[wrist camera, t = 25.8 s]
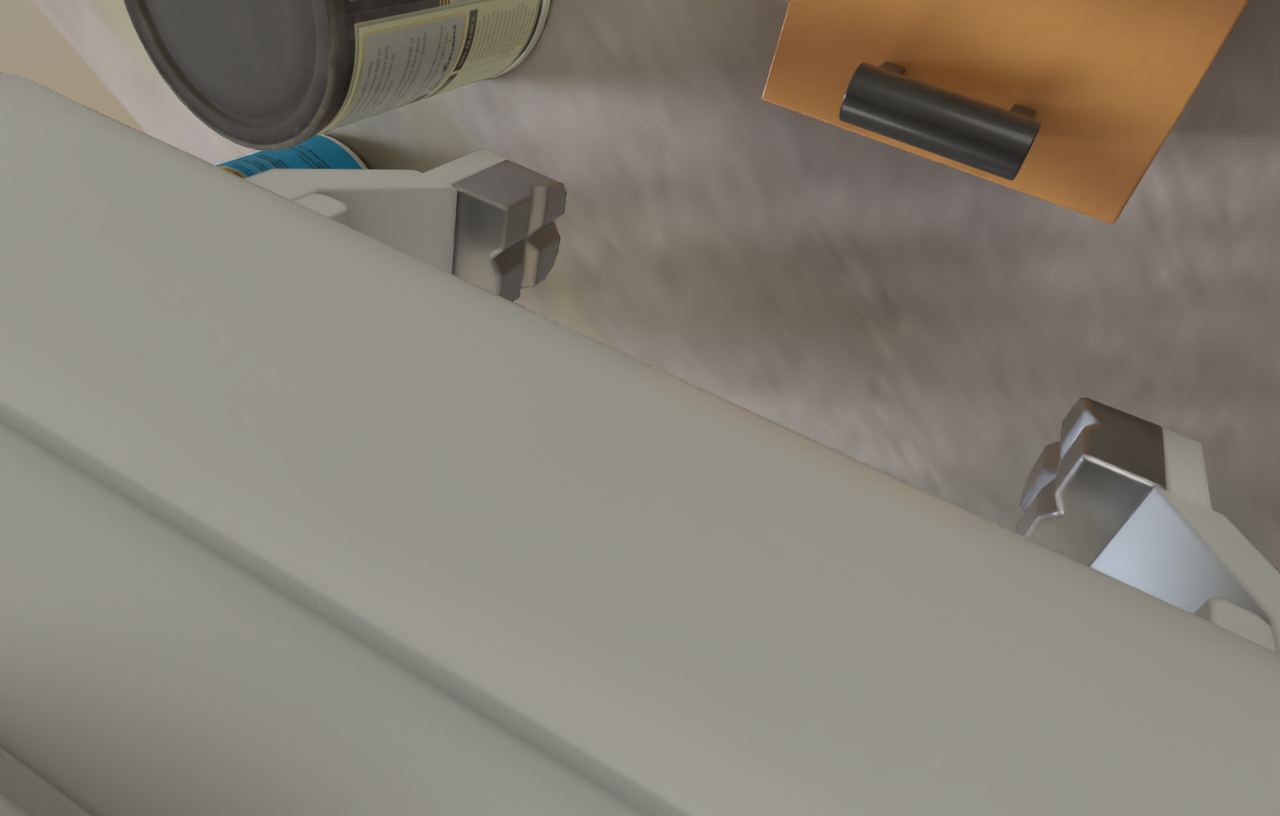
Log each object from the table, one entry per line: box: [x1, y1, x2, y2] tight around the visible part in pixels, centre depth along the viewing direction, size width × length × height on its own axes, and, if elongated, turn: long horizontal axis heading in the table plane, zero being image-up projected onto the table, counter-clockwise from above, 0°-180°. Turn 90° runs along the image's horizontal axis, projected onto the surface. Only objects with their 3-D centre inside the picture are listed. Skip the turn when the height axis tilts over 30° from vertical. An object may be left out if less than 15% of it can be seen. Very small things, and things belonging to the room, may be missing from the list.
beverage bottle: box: [213, 134, 368, 179], centre depth 43 cm, size 8×8×20 cm
